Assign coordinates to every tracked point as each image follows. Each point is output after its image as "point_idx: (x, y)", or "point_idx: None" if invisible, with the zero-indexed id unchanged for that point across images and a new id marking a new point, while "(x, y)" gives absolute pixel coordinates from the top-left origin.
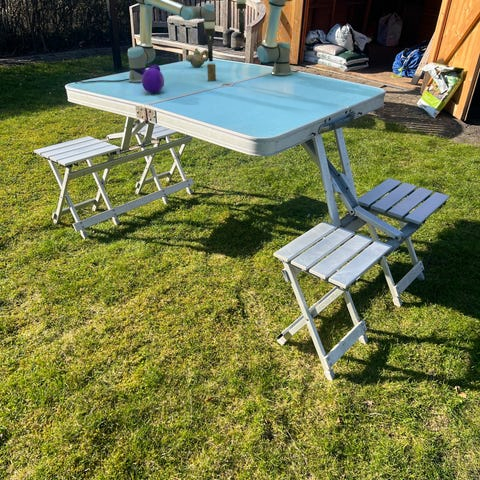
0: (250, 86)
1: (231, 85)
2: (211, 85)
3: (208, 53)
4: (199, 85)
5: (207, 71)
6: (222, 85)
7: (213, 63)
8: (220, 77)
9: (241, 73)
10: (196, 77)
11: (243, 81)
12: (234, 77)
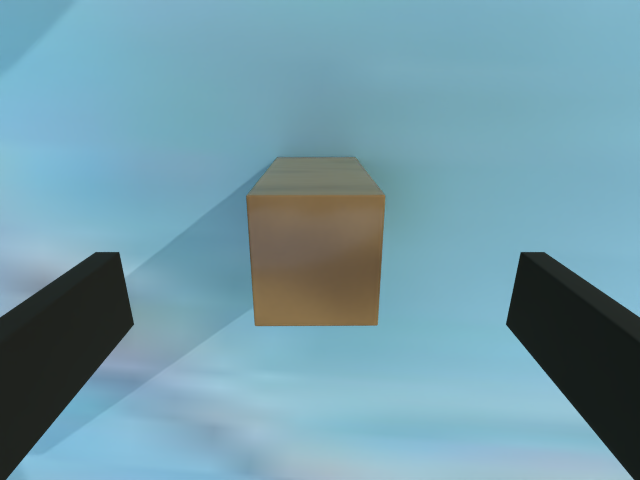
0: (28, 472)
1: None
2: (55, 181)
3: (589, 319)
4: (50, 42)
5: (361, 171)
6: None
7: (356, 304)
8: (453, 290)
9: (571, 461)
10: (552, 16)
11: (224, 447)
12: (412, 401)
